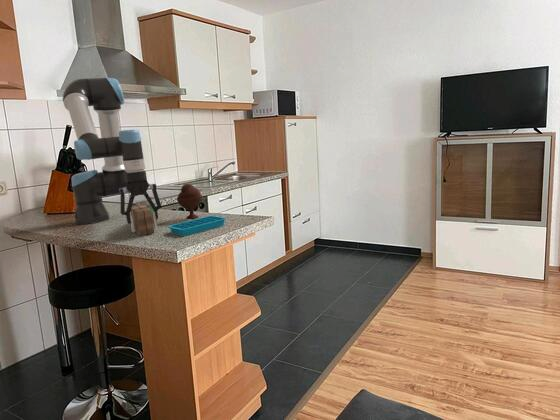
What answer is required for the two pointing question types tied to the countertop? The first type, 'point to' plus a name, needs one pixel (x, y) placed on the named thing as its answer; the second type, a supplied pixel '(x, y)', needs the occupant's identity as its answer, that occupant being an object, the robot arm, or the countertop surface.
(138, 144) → the robot arm
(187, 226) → the ice cube tray
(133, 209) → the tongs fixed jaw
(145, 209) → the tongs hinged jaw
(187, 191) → the ice cream bowl
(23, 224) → the countertop surface
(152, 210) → the food container
